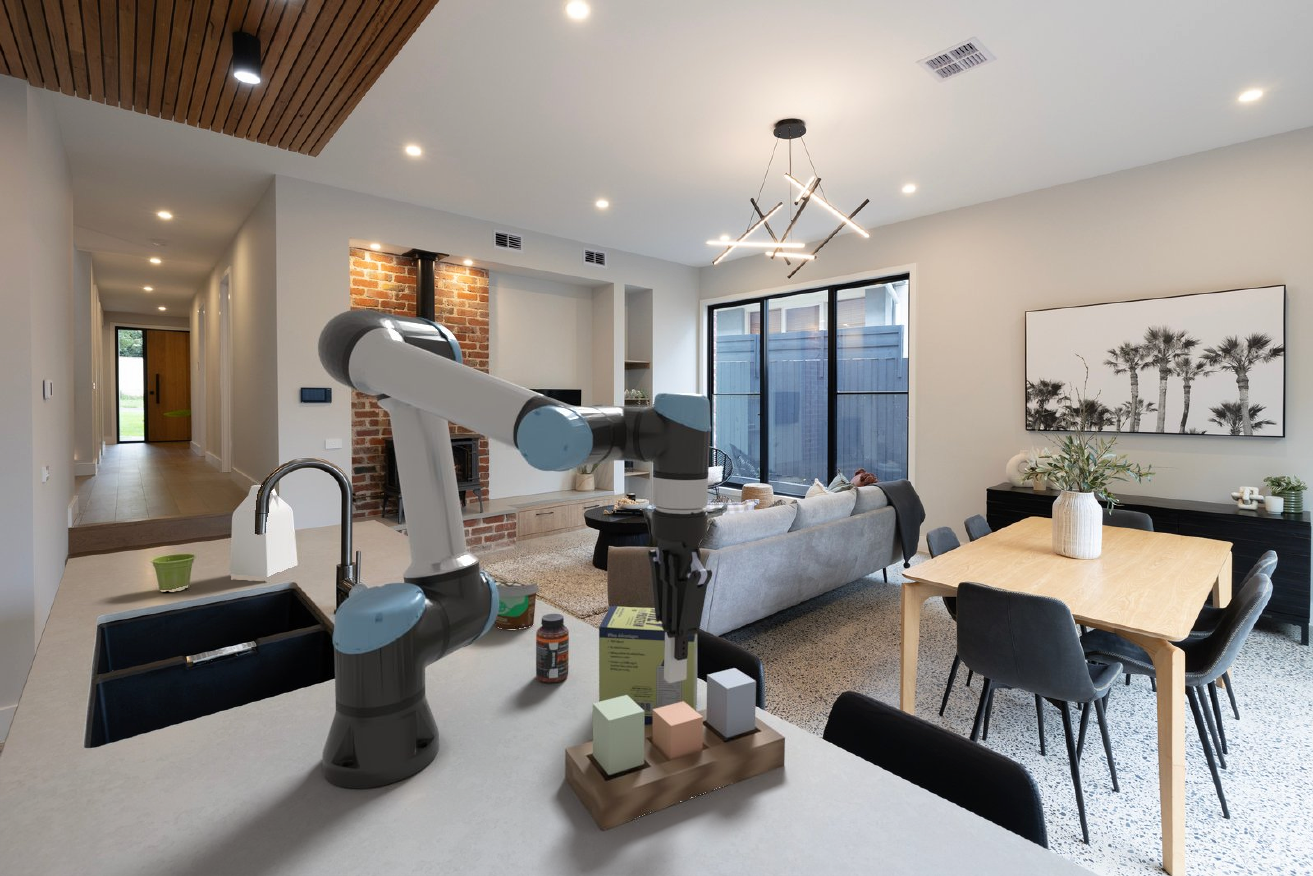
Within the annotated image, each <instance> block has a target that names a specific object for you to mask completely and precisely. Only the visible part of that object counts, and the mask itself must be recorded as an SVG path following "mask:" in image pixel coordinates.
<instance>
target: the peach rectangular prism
mask: <svg viewBox="0 0 1313 876" xmlns="http://www.w3.org/2000/svg"><path fill="white" fill-rule="evenodd" d="M652 745H653V746H654V747H655V748H656V749H657V750H658V751H659V752H660V753H661V754H662V755H663V756H664V757H665V758H666V759H667V760H668V761H671V760H674V759H677V758H680V757H684V756H687V755H690V754H693V753H696V752H699V751H702V749H703V716H701V715H700V714H699V713H698V712H697V710H696V711H695V710H694V709H693V708H691V707H690V706H689V705H688V704H686V703H685V702H684V701H682V702H678V703H675V704H671V705H667V706H664V707H660V708H656V709H653V737H652Z"/></svg>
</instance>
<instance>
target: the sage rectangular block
mask: <svg viewBox="0 0 1313 876" xmlns="http://www.w3.org/2000/svg"><path fill="white" fill-rule="evenodd" d="M644 713H645V711H644V710H643V709H642V708H641V707H640V706H638V705H637V704H636V703H635V702H634V701H633V700H632V699H631V698H630V697H629V696H628V695H624V696H620V697H617V698H613V699H609V700H605V701H601V702H599V701H597V702H593V703H592V741H593V756H594V757H595V759H596V760H597V761H598V762H599V764H600V765H601V766H602V767H603V769H604V770H605V771H606V772H607V774H608V775H611V774H614V773H617V772H620V771H624V770H627V769H630V768H633V767H636V766H639V765H643V764H644V726H645V725H644Z"/></svg>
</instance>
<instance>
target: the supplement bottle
mask: <svg viewBox="0 0 1313 876" xmlns="http://www.w3.org/2000/svg"><path fill="white" fill-rule="evenodd" d="M564 623H565V622H564V616H563V614H560V613H547V614H544V615H542V616H541V621H540V624H541V626H540V627H538V628H537V630H536V634H535V637H536V639H535V640H536V641H535V645H536V646H535V655H536V656H535V673H536V674H535V677H536V679H537V680H538V681H540V682H542V683H547V684H548V683H549V684H552V683H558V682H562V681H563V680H565V679H567V678H568V676H569V663H570V661H569V660H570V659H569V652H570V651H569V647H570V646H569V645H570V643H569V641H570V640H569V639H570V633H569V629H568V627H567V626H565V624H564Z"/></svg>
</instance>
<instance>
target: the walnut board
mask: <svg viewBox="0 0 1313 876" xmlns="http://www.w3.org/2000/svg"><path fill="white" fill-rule="evenodd" d="M696 712H698V713H699V714H700V715H701V716H703V749H702V751H699V752H696V753H693V754H690V755H687V756H684V757H680V758H677V759H674V760H671V761H668V760H667V759H666V758H665V757H664V756H663V755H662V754H661V753H660V752H659V751H658V750H657V749H656V748H655V747H654V746H653V745H652V737H653V724H651V725H644V764H643V765H639V766H636V767H633V768H630V769H627V770H624V771H620V772H617V773H614V774H611V775H608V774H607V772H606V771H605V770H604V769H603V767H602V766H601V765H600V764H599V762H598V761H597V760H596V759H595V757H594V756H593V740H592V741H587V742H583V743H581V744H576V745H573V746H570V747H566V748H564V750H565V751H564V754H565V755H564V756H565V758H564V769H565V770H564V778H565V779H566V780H567V782H568V784H569V785H570V787H571V789H572V790H573V791H574V793H575V794H576V795H577V797H578V799H579V800H580V801H581V802H582V804H583V806H584V807H585V809H586V810H587V812H588V813H589V814H590V815H592V816H591V818H592V819H593V820H594V822H595V823H596V825H597V824H598V825H599V826H598V825H597V826H598V828H599V827H600V828H599V829H600V830H602V831H601V832H604V831H606V830H605V829H607V830H608V829H611V828H615V827H618V826H620V825H623V824H625V823H628V822H627V821H629V820H631V819H634V820H636V819H635V818H637V817H639V816H642V815H644V814H645V816H647V815H646V814H648V813H650V812H653V811H656V810H659V811H661V809H662V810H664V809H663V808H665V809H667V808H669V807H668V806H670V807H672V806H671V805H673V804H676V803H678V802H680V801H684V800H687V799H689V798H691V797H695V796H698V795H700V794H703V793H705V792H709V791H711V792H713V791H712V790H714V789H716V788H719V787H723V786H725V787H727V786H726V785H728V784H731V783H734V784H736V783H739V782H742V781H744V780H743V779H745V780H747V779H750V778H753V777H755V776H758V775H760V774H761V775H762V774H764V773H767V772H769V771H771V770H774V769H777V768H780V767H783V766H785V762H786V761H785V760H786V759H785V757H786V756H785V752H786V751H785V750H786V747H785V746H786V737H785V736H784V735H783V734H781V733H780V732H779V731H777V730H776V729H774V728H773V727H771V726H770V725H768V724H767V723H766V722H764V721H762V720H761V719H760V718H758V717H757V716H755V729H753V730H750V731H747V732H744V733H741V734H737V735H734V736H731V737H728V738H726V737H725V736H724V735H722V734H721V733H720V732H719V731H717V730H716V729H715V728H714V727H712V726H711V725H710V724H709V723H707V722H706V716H707V708H704V709H701V710H696ZM733 738H735V739H734V740H731V739H733ZM727 740H730V741H728V742H725V741H727ZM627 772H629V773H627ZM623 773H627V774H625V775H621V776H618V777H615V778H612V779H609V780H607V781H606V780H605V779H608V778H611V777H613V776H617V775H620V774H623ZM741 780H742V781H741ZM738 781H739V782H738ZM731 785H732V784H731ZM728 786H729V785H728ZM723 788H724V787H723ZM714 791H715V790H714ZM709 793H710V792H709ZM703 795H704V794H703ZM700 796H701V795H700ZM698 797H699V796H698ZM695 798H696V797H695ZM689 800H690V799H689ZM687 801H688V800H687ZM684 802H685V801H684ZM678 804H679V803H678ZM676 805H677V804H676ZM673 806H674V805H673ZM666 807H667V808H666ZM656 812H657V811H656ZM648 815H649V814H648ZM642 817H643V816H642ZM637 819H638V818H637ZM631 821H632V820H631ZM629 822H630V821H629ZM617 825H618V826H617ZM603 830H604V831H603Z"/></svg>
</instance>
